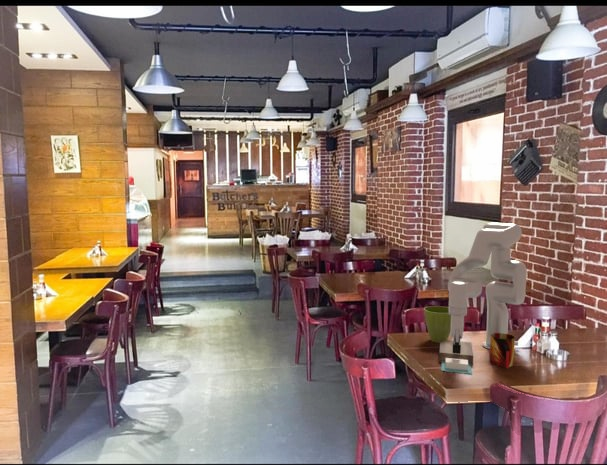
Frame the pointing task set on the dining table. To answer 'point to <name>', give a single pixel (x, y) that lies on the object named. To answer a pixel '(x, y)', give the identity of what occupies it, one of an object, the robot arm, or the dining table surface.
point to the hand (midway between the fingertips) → (456, 352)
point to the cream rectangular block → (456, 364)
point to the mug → (502, 350)
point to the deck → (447, 352)
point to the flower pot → (437, 322)
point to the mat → (456, 369)
